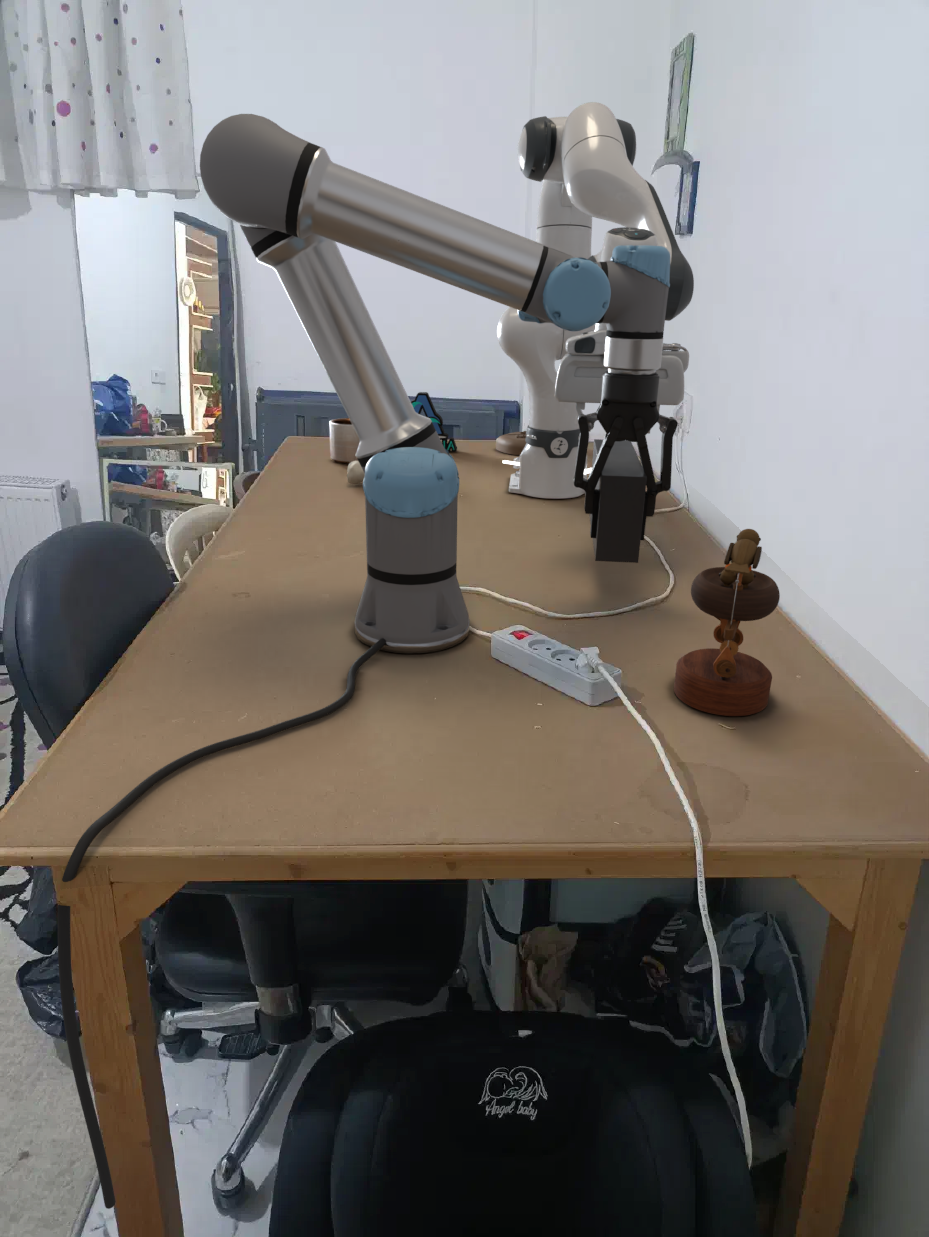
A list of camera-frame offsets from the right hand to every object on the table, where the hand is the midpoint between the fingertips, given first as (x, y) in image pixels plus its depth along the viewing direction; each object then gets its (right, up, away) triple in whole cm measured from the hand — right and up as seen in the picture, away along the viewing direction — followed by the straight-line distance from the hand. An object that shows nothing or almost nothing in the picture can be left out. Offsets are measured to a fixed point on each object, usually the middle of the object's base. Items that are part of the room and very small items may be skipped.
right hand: (615, 432), depth 136 cm
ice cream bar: (-5, +13, +88) cm, 89 cm away
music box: (+5, -39, -38) cm, 55 cm away
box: (-1, -17, -4) cm, 17 cm away
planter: (-53, +10, +78) cm, 95 cm away
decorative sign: (-36, +15, +91) cm, 99 cm away
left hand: (-2, -18, -14) cm, 23 cm away
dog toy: (-41, 0, +55) cm, 68 cm away
